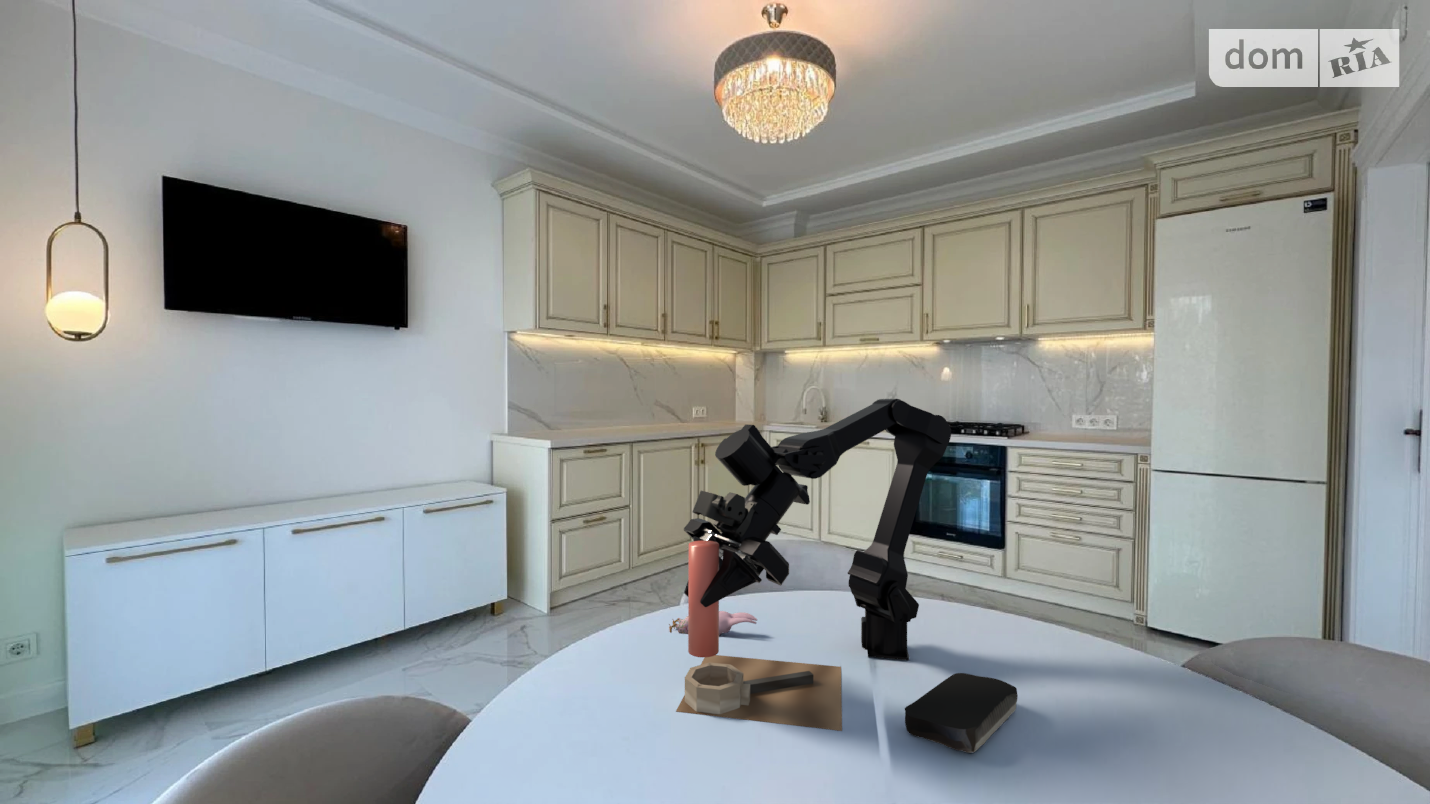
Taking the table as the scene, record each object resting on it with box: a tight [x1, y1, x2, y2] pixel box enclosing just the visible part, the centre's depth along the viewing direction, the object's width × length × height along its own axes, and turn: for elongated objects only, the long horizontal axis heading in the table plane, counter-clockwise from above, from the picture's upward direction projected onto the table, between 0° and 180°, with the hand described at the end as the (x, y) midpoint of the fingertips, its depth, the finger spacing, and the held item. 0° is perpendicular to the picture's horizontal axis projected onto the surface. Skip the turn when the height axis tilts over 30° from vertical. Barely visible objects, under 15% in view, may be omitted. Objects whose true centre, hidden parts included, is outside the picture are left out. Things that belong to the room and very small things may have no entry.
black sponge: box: [904, 672, 1019, 754], centre depth 71 cm, size 16×8×4 cm, turn 134°
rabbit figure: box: [668, 610, 758, 636], centre depth 99 cm, size 6×6×15 cm
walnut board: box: [675, 654, 843, 732], centre depth 78 cm, size 20×17×4 cm
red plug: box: [687, 541, 720, 658], centre depth 76 cm, size 4×4×14 cm
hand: (694, 600), depth 75 cm, fingers closed on red plug, 4 cm apart
